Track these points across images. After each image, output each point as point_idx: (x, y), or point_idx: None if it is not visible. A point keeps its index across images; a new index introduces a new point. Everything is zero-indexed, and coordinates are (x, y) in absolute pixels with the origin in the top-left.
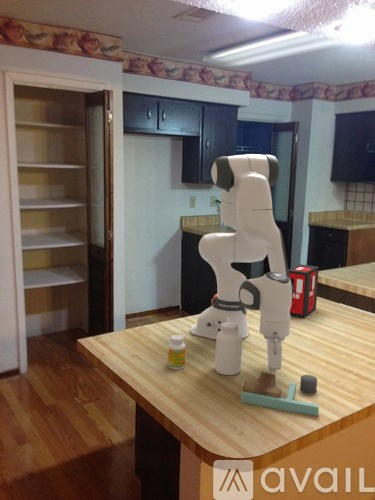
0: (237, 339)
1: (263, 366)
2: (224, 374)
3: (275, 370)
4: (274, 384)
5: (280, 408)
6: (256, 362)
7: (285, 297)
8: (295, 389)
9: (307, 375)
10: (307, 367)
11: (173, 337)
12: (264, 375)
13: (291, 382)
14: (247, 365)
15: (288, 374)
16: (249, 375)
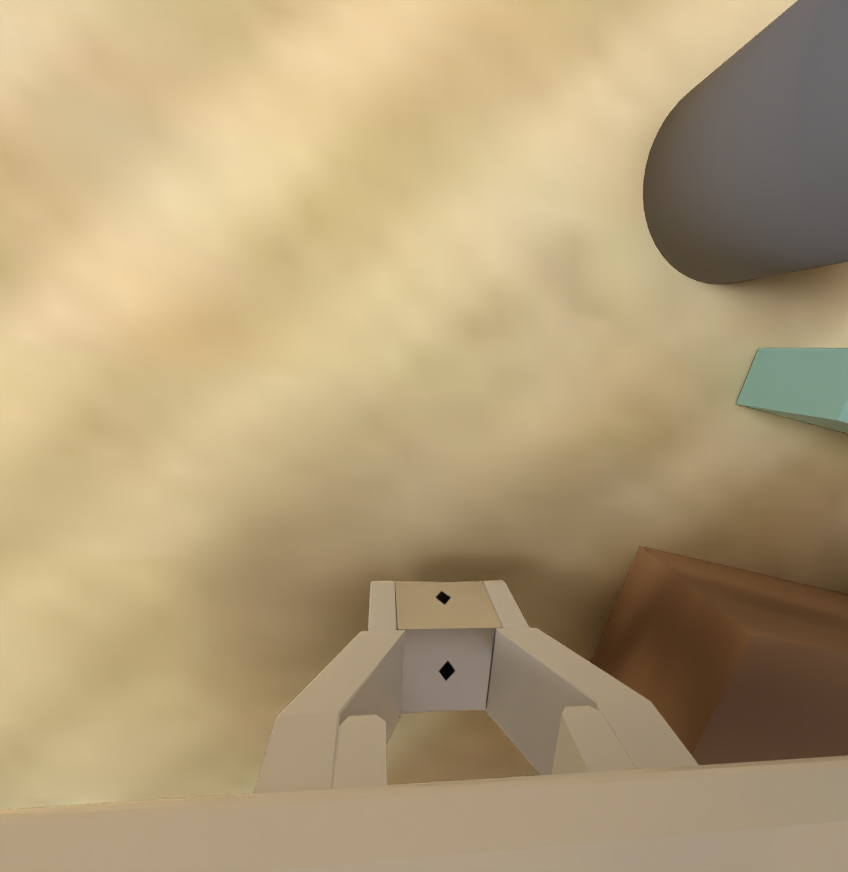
0: None
1: (174, 645)
2: None
3: (508, 596)
4: (685, 567)
5: None
6: (77, 716)
7: None
8: (795, 351)
9: (820, 87)
10: (10, 7)
11: None
12: (766, 758)
13: (843, 408)
14: (195, 792)
15: (345, 371)
16: (433, 760)
